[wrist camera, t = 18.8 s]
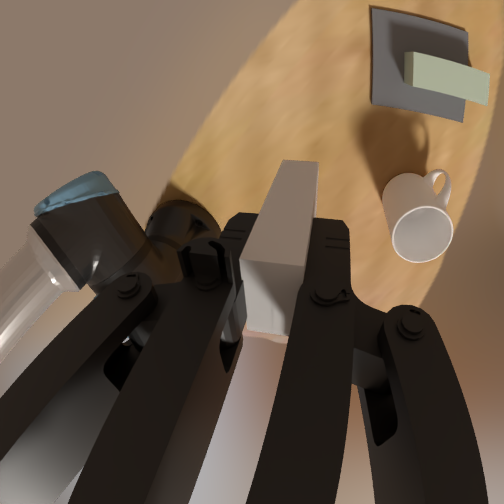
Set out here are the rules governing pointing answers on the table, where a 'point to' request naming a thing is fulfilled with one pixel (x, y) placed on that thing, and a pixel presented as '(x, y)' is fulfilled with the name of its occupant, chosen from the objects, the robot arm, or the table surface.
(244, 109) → the table surface
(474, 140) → the table surface
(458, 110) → the mat
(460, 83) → the block
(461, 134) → the table surface
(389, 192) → the mug
